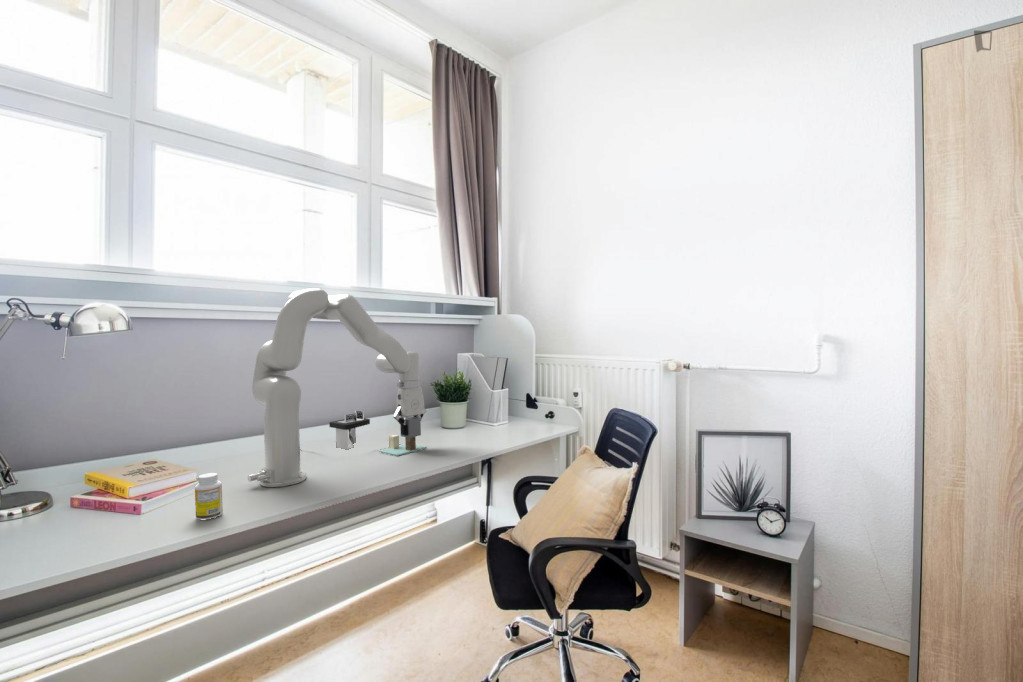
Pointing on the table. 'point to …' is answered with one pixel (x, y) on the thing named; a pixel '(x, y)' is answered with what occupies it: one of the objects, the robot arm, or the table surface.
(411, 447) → the walnut post
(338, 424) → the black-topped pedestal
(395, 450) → the board
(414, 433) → the grey block
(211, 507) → the supplement bottle
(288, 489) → the table surface
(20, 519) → the table surface
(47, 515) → the table surface
